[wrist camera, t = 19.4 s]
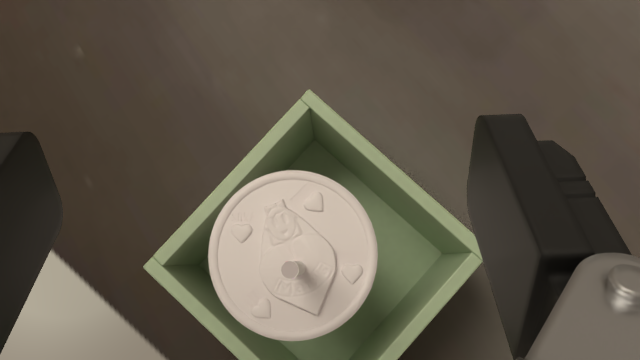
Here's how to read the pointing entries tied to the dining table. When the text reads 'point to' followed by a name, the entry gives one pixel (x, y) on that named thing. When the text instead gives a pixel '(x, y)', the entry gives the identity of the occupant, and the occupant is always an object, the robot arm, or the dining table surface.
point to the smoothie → (292, 255)
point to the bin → (390, 230)
